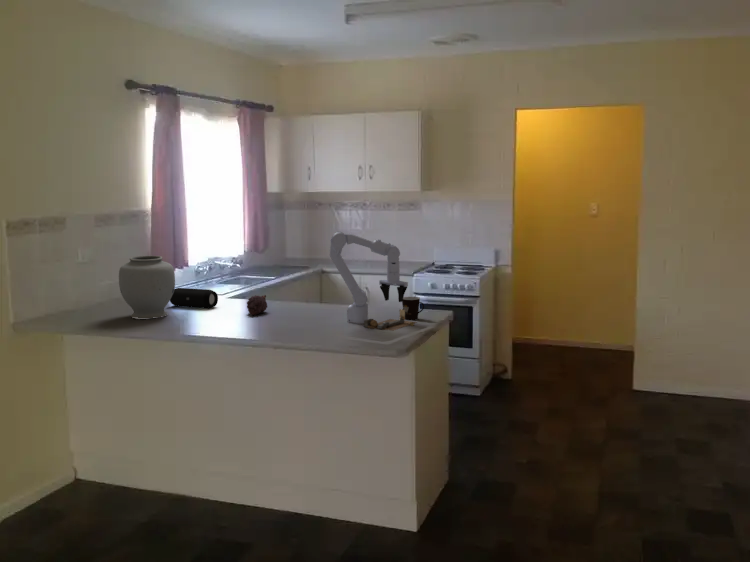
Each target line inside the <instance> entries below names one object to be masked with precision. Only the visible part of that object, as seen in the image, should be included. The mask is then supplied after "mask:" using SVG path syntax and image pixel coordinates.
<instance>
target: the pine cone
mask: <svg viewBox="0 0 750 562" xmlns="http://www.w3.org/2000/svg"><path fill="white" fill-rule="evenodd" d="M266 297H267V295H266V294H264V295H261V296H260V295H252V296H251V297H250V298H248V301H246V308H247V311H248V313H249V315H251V316H256V315H258V314H261V313H264V312H265V311H266V310H267V308H268V303H267V301H266Z"/></svg>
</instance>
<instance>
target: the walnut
mask: <svg viewBox="0 0 750 562" xmlns="http://www.w3.org/2000/svg"><path fill="white" fill-rule="evenodd" d="M377 323H378V321H377V320H376V319H374V320H372V321H371V322H370V325H371V326H374V327H376V326H377Z"/></svg>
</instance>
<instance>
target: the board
mask: <svg viewBox="0 0 750 562" xmlns="http://www.w3.org/2000/svg"><path fill="white" fill-rule="evenodd" d="M372 320H375V319H374V318H368V320H365V321H364V323H363V327H364V328H367V329H377V330H381V329H380V328H377V326H376V327H374V326H371V325H370V322H371V321H372ZM395 320H396V319H393V318H392V319H391V318H389V319H387V320H383V321H380V322H377V325H381V324H383V322H392V321H395ZM416 323H418V322H417V321H412V320H404V323H400V324H397V325H393V326H390V327H386V328H383V329H382V330H385V331H396V330H399V329H402V328H405V327H409V326H410V327H413V326H415V325H414V324H416Z"/></svg>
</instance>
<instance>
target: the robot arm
mask: <svg viewBox="0 0 750 562" xmlns="http://www.w3.org/2000/svg"><path fill="white" fill-rule="evenodd" d="M346 244H347V245H351V244H355V245H359V246H361V247H365V248H369V249H370V251H371V252H373V253H375V254H378V255H380V256H384V257H385V256H387V257H386V258H387V259H386V260H387V261H386V279H380V280H378V281H379V285H380V286H379V288H380V290H381V292H382V294H383V297H384V301H385V302H388V301H389V300H390V288H391V286H395V287H396V286H397V287H396V290H397V293H398V294H397V295H398V296H397V297H398V303H402V301H403V297H405V293H406V291H407V289H408V286H409V282H408V281H403V280H401V279H400V275H401V274H400V256H401V251H400V249H399V247H397V246H396V245H394V244H391V243H390V242H388V243H386V242H384V241H382V240H381V239H374V240H369V239H366V238H363V237H360V236H358V235H355V234H352V233H348V232H342V231H336V232H334V233H333V234H332V237H331V239H330V245H329V257H330V259H331V261H332V262H333V264H334V266H335V268H336V269H337V271H338V273H339V274H340V276H341V278H342V280H343V281H344V283H345V284H346V286H347V288H348V289H349V292H350V294H351V295H352V299H353V303H352V304H349V305H348V307H347V309H346V322H347V323H353V324H358V325H359V324H364V321H365V320H368V319H369V304H368V296H367V293H366V292H365V290H363V289H361V288H360V285H359V284H358V283H357V280H356V279H355V277H354V276H353V274H352V272H351V270H350V269H349V267H348V265H347V263H346V262H345V260H344V258H343V257H342V252H343V248H344V247H345V246H346Z"/></svg>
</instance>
